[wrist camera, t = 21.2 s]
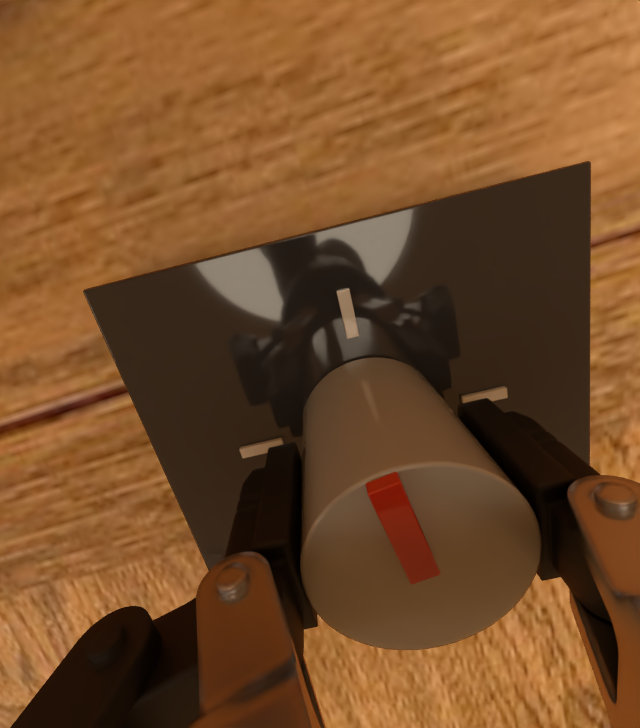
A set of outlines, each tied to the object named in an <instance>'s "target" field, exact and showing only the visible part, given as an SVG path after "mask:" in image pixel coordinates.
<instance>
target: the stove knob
mask: <svg viewBox="0 0 640 728" xmlns="http://www.w3.org/2000/svg"><path fill="white" fill-rule="evenodd" d="M541 551H542V541H541V533H540V528H539V523H538V520H537V518H536V515H535V513H534V510H533V509H532V507H531V505H530V504H529V502H528V501H527V499H526V498H525V497H524V496H523V494H522V493H521V492H520V491H519V490H518V488H517V487H516V486H515V485H514V483H513V482H512V481H511V480H510V479H509V477H508V476H507V475H506V474H505V473H504V471H503V470H502V469H501V468H500V467H499V465H498V464H497V463H496V462H495V461H494V459H493V458H492V457H491V456H490V454H489V453H488V452H487V451H486V450H485V448H484V447H483V446H482V445H481V444H480V442H479V441H478V440H477V439H476V438H475V436H474V435H473V434H472V433H471V432H470V430H469V429H468V428H467V427H466V425H465V424H464V423H463V422H462V421H461V419H460V418H459V417H458V416H457V415H456V413H455V412H454V411H453V410H452V409H451V407H450V406H449V405H448V404H447V403H446V401H445V400H444V399H443V398H442V396H441V395H440V394H439V393H438V392H437V390H436V389H435V388H434V387H433V386H432V384H431V383H430V382H429V381H428V380H427V379H426V377H425V376H424V375H422V374H421V373H420V372H419V371H418V370H416V369H415V368H413V367H411V366H410V365H407V364H405V363H403V362H400V361H397V360H394V359H388V358H364V359H359V360H355V361H352V362H349V363H346V364H344V365H342V366H340V367H338V368H336V369H335V370H333V371H332V372H330V373H329V374H327V375H326V376H325V377H324V378H323V379H322V380H321V381H320V382H319V383H318V384H317V385H316V387H315V388H314V389H313V391H312V392H311V394H310V396H309V398H308V400H307V402H306V405H305V408H304V413H303V419H302V472H301V532H300V574H301V582H302V585H303V588H304V591H305V594H306V596H307V598H308V600H309V602H310V604H311V606H312V607H313V608H314V610H315V611H316V612H317V614H318V615H319V616H320V617H321V618H322V619H323V620H324V621H325V622H326V623H327V624H328V625H329V626H331V627H332V628H333V629H335V630H336V631H337V632H339V633H341V634H343V635H344V636H346V637H348V638H350V639H353V640H355V641H357V642H360V643H363V644H366V645H370V646H373V647H379V648H384V649H393V650H420V649H429V648H434V647H440V646H444V645H448V644H451V643H455V642H458V641H460V640H463V639H466V638H468V637H471V636H473V635H475V634H477V633H479V632H481V631H483V630H484V629H486V628H488V627H489V626H491V625H492V624H494V623H495V622H497V621H498V620H499V619H501V618H502V617H503V616H505V615H506V614H507V613H508V612H509V611H510V610H511V609H512V608H513V607H514V606H515V605H516V604H517V603H518V602H519V601H520V599H521V598H522V597H523V596H524V594H525V593H526V591H527V590H528V588H529V587H530V585H531V583H532V581H533V579H534V577H535V575H536V573H537V569H538V566H539V563H540V558H541Z"/></svg>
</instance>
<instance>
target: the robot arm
mask: <svg viewBox="0 0 640 728" xmlns="http://www.w3.org/2000/svg"><path fill="white" fill-rule="evenodd" d="M457 412H458V417H459V418H460V419H461V421H462V422H463V423H464V424H465V425H466V427H467V428H468V429H469V430H470V432H471V433H472V434H473V435H474V436H475V438H476V439H477V440H478V441H479V442H480V444H481V445H482V446H483V447H484V448H485V450H486V451H487V452H488V453H489V454H490V456H491V457H492V458H493V459H494V461H495V462H496V463H497V464H498V465H499V467H500V468H501V469H502V470H503V471H504V473H505V474H506V475H507V476H508V477H509V479H510V480H511V481H512V482H513V483H514V485H515V486H516V487H517V488H518V490H519V491H520V492H521V493H522V494H523V496H524V497H525V498H526V499H527V501H528V502H529V504H530V505H531V507H532V509H533V510H534V513H535V515H536V518H537V520H538V523H539V528H540V533H541V541H542V551H541V558H540V563H539V566H538V569H537V574H538V576H539V577H540V579H541V580H542V581H543V580H548V579H553V578H558V577H561V578H562V579H563V580H564V582H565V583H566V584H567V586H568V587H569V588H570V605H571V609H572V612H573V615H574V618H575V620H576V623H577V626H578V629H579V632H580V635H581V638H582V641H583V644H584V646H585V649H586V652H587V655H588V658H589V661H590V664H591V667H592V670H593V673H594V675H595V678H596V681H597V684H598V687H599V690H600V693H601V696H602V699H603V701H604V704H605V707H606V710H607V713H608V717H609V720H610V724H611V728H640V483H637V482H635V481H632V480H629V479H626V478H622V477H617V476H609V475H600V474H599V473H598V472H597V471H595V470H594V469H593V468H592V467H591V466H589V465H588V464H587V463H586V462H584V461H583V460H582V459H581V458H580V457H578V456H577V455H576V454H575V453H573V452H572V451H571V450H570V449H569V448H567V447H566V446H565V445H564V444H563V443H561V442H558V441H557V439H556V438H555V437H554V436H553V435H552V434H550V433H549V432H546V429H544V428H543V427H542V426H541V425H539V424H538V423H537V422H536V421H535V420H533V419H532V418H530V417H527V416H524V415H522V414H519V413H517V412H514V411H511V412H506V413H504V412H503V411H502V410H501V409H500V408H498V407H497V406H496V405H495V404H494V403H493V402H492V401H491V400H490V399H488V398H483V399H479V400H475V401H470V402H466V403H462V404H459V405H458V408H457ZM301 472H302V460H301V456H300V453H299V450H298V447H297V444H296V443H295V442H291V443H287V444H282V445H278V446H274V447H269V449H268V453H267V459H266V465H265V467H264V468H259V469H255V470H253V471H252V472H251V473H250V475H249V476H248V477H247V479H246V480H245V481H244V483H243V485H242V489H241V493H240V497H239V499H240V501H238V505H237V509H236V511H237V513H235V517H234V521H233V525H232V529H231V533H230V537H229V541H228V546H227V550H226V554H225V558H224V559H223V560H221V561H220V562H218V563H217V564H216V565H215V566H214V567H212V568H211V569H210V570H209V572H208V573H207V574H206V575H205V577H204V578H203V580H202V581H201V583H200V585H199V588H198V590H197V594H196V598H194V599H193V600H192V601H190V602H188V603H186V604H185V605H183V606H181V607H179V608H177V609H175V610H173V611H171V612H169V613H167V614H165V615H163V616H161V617H159V618H157V619H155V620H153V621H152V619H151V617H150V615H149V614H148V612H147V611H146V610H145V609H144V608H142V607H138V606H129V607H124V608H121V609H118V610H116V611H114V612H112V613H110V614H108V615H106V616H105V617H103V618H102V619H100V620H99V621H98V622H96V623H95V624H94V625H93V626H92V627H90V628H89V629H88V630H87V631H86V632H85V633H84V634H83V636H82V637H81V638H80V639H79V640H78V641H77V643H76V644H75V645H74V647H73V648H72V649H71V650H70V652H69V653H68V654H67V656H66V657H65V658H64V659H63V661H62V662H61V663H60V665H59V666H58V667H57V668H56V670H55V671H54V672H53V674H52V675H51V676H50V677H49V679H48V680H47V681H46V683H45V684H44V685H43V686H42V688H41V689H40V690H39V692H38V693H37V694H36V695H35V697H34V698H33V699H32V701H31V702H30V703H29V704H28V706H27V707H26V708H25V710H24V711H23V712H22V713H21V715H20V716H19V717H18V719H17V720H16V721H15V722H14V724H13V725H12V726H11V728H326V727H325V723H324V720H323V717H322V713H321V710H320V707H319V704H318V700H317V697H316V694H315V691H314V687H313V684H312V681H311V677H310V674H309V671H308V668H307V664H306V661H305V659H304V656H303V653H304V629H308V628H313V627H318V622H317V612H316V611H315V610H314V608H313V607H312V606H311V604H310V602H309V600H308V598H307V596H306V594H305V591H304V588H303V585H302V582H301V574H300V532H301Z"/></svg>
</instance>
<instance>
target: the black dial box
mask: <svg viewBox="0 0 640 728" xmlns="http://www.w3.org/2000/svg"><path fill="white" fill-rule="evenodd" d="M590 256H591V162H589V161H586V162H582V163H578V164H574V165H570V166H566V167H562V168H558V169H554V170H550V171H546V172H542V173H538V174H534V175H531V176H527V177H523V178H519V179H515V180H511V181H507V182H503V183H499V184H495V185H491V186H487V187H483V188H479V189H476V190H472V191H468V192H464V193H460V194H456V195H452V196H448V197H444V198H440V199H436V200H432V201H428V202H425V203H421V204H417V205H413V206H409V207H405V208H401V209H397V210H393V211H389V212H385V213H381V214H377V215H374V216H370V217H366V218H362V219H358V220H354V221H350V222H346V223H342V224H338V225H334V226H330V227H326V228H323V229H319V230H315V231H311V232H307V233H303V234H299V235H295V236H291V237H287V238H283V239H279V240H275V241H272V242H268V243H264V244H260V245H256V246H252V247H248V248H244V249H240V250H236V251H232V252H228V253H224V254H221V255H217V256H213V257H209V258H205V259H201V260H197V261H193V262H189V263H185V264H181V265H177V266H173V267H170V268H166V269H162V270H158V271H154V272H150V273H146V274H142V275H138V276H134V277H130V278H126V279H123V280H119V281H115V282H111V283H107V284H103V285H99V286H96V287H92V288H88V289H85V290H84V291H83V293H84V295H85V297H86V299H87V302H88V304H89V306H90V308H91V310H92V313H93V315H94V317H95V319H96V322H97V324H98V326H99V328H100V330H101V333H102V335H103V337H104V339H105V342H106V344H107V346H108V348H109V350H110V353H111V355H112V357H113V359H114V361H115V364H116V366H117V368H118V370H119V373H120V375H121V377H122V379H123V381H124V384H125V386H126V388H127V390H128V393H129V395H130V397H131V399H132V401H133V404H134V406H135V408H136V410H137V412H138V415H139V417H140V419H141V421H142V424H143V426H144V428H145V430H146V432H147V435H148V437H149V439H150V441H151V444H152V446H153V448H154V450H155V452H156V455H157V457H158V459H159V461H160V464H161V466H162V468H163V470H164V472H165V475H166V477H167V479H168V481H169V483H170V486H171V488H172V490H173V492H174V495H175V497H176V499H177V501H178V503H179V506H180V508H181V510H182V512H183V515H184V517H185V519H186V521H187V523H188V526H189V528H190V530H191V532H192V534H193V537H194V539H195V541H196V543H197V546H198V548H199V550H200V552H201V554H202V557H203V559H204V561H205V563H206V566H207V568H208V570H210V569H211V568H212V567H214V566H215V565H216V564H217V563H218V562H220V561H221V560H223V559H224V558H225V554H226V550H227V546H228V541H229V537H230V533H231V529H232V525H233V521H234V517H235V513H237V511H236V509H237V505H238V501H240V499H239V497H240V493H241V489H242V485H243V483H244V481H245V480H246V479H247V477H248V476H249V475H250V473H251V472H252V471H253V470H255V469H259V468H264V467H265V465H266V459H267V453H268V449H269V447H274V446H278V445H282V444H287V443H291V442H295V443H296V444H297V447H298V450H299V453H300V456H301V460H302V419H303V413H304V408H305V405H306V402H307V400H308V398H309V396H310V394H311V392H312V391H313V389H314V388H315V387H316V385H317V384H318V383H319V382H320V381H321V380H322V379H323V378H324V377H325V376H326V375H327V374H329V373H330V372H332V371H333V370H335V369H336V368H338V367H340V366H342V365H344V364H346V363H349V362H352V361H355V360H359V359H364V358H388V359H394V360H397V361H400V362H403V363H405V364H407V365H410V366H411V367H413V368H415V369H416V370H418V371H419V372H420V373H421V374H422V375H424V376H425V377H426V379H427V380H428V381H429V382H430V383H431V384H432V386H433V387H434V388H435V389H436V390H437V392H438V393H439V394H440V395H441V396H442V398H443V399H444V400H445V401H446V403H447V404H448V405H449V406H450V407H451V409H452V410H453V411H454V412H455V413H456V415H457V416H458V412H457V408H458V405H459V404H462V403H466V402H470V401H475V400H479V399H483V398H488V399H490V400H491V401H492V402H493V403H494V404H495V405H496V406H497V407H498V408H500V409H501V410H502V411H503V412H504V413H506V412H511V411H514V412H517V413H519V414H522V415H524V416H527V417H530V418H532V419H533V420H535V421H536V422H537V423H538V424H539V425H541V426H542V427H543V428H544V429H546V432H549V433H550V434H552V435H553V436H554V437H555V438H556V439H557V441H558V442H561V443H563V444H564V445H565V446H566V447H567V448H569V449H570V450H571V451H572V452H573V453H575V454H576V455H577V456H578V457H580V458H581V459H582V460H583V461H584V462H586V463H587V464H588V465H589V466H590Z"/></svg>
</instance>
